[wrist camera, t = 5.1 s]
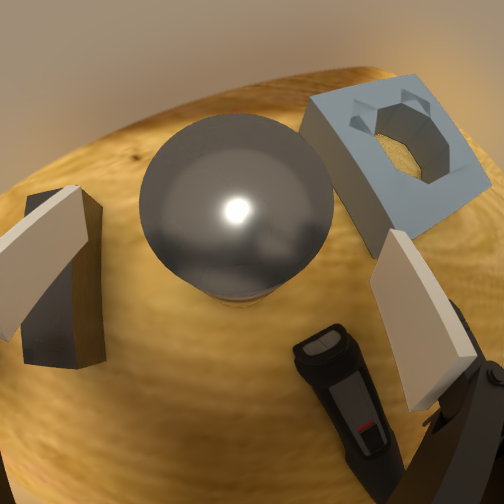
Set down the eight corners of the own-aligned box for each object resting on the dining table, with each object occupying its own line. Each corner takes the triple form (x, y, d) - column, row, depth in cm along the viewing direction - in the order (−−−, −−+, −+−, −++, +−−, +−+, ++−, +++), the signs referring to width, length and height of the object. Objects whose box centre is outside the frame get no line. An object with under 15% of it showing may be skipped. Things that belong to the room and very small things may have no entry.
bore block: (461, 203, 19) (492, 185, 15) (373, 258, 18) (403, 244, 14) (395, 102, 21) (415, 73, 17) (298, 132, 20) (309, 96, 16)
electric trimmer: (367, 509, 15) (382, 530, 12) (285, 348, 17) (295, 356, 14) (408, 483, 15) (428, 500, 12) (339, 319, 18) (359, 321, 14)
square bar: (107, 360, 16) (77, 369, 13) (58, 357, 16) (24, 363, 12) (104, 208, 18) (77, 184, 15) (58, 215, 18) (27, 195, 14)
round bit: (284, 288, 18) (368, 237, 6) (223, 319, 17) (185, 329, 5) (254, 229, 18) (276, 93, 7) (193, 257, 18) (117, 158, 6)
